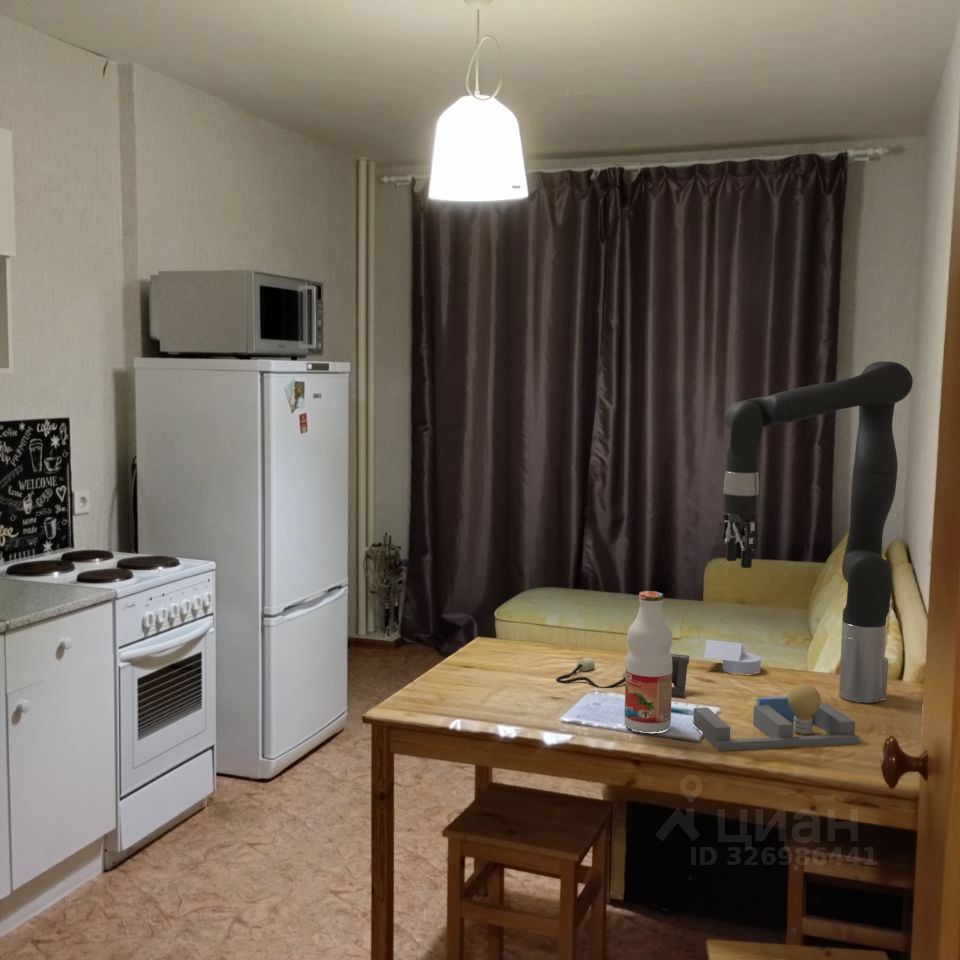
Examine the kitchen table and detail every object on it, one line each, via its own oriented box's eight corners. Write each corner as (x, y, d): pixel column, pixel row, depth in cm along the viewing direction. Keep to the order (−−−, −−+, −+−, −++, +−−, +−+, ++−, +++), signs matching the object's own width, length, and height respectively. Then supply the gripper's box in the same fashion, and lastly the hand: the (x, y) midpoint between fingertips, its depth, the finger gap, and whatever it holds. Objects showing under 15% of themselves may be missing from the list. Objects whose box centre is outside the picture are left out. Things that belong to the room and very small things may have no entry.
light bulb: (820, 739, 209) (823, 690, 208) (787, 736, 211) (789, 688, 210) (817, 728, 216) (819, 681, 215) (784, 726, 217) (787, 679, 216)
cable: (607, 696, 237) (608, 681, 237) (549, 682, 247) (549, 668, 247) (643, 680, 249) (643, 666, 249) (586, 668, 259) (586, 654, 259)
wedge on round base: (703, 671, 256) (757, 677, 251) (703, 644, 255) (758, 650, 251) (709, 661, 264) (762, 667, 260) (710, 635, 264) (763, 641, 259)
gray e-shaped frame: (821, 718, 222) (822, 695, 222) (857, 743, 207) (859, 719, 207) (690, 723, 218) (690, 700, 217) (717, 750, 203) (718, 725, 202)
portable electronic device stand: (644, 694, 238) (645, 658, 237) (650, 684, 245) (651, 649, 244) (683, 698, 235) (684, 662, 234) (688, 688, 242) (690, 653, 241)
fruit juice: (678, 733, 212) (682, 597, 209) (634, 736, 210) (638, 599, 207) (659, 718, 221) (663, 587, 218) (617, 721, 219) (620, 589, 216)
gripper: (770, 495, 226) (767, 570, 227) (744, 488, 240) (741, 558, 241) (737, 496, 225) (734, 570, 226) (712, 488, 239) (710, 558, 240)
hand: (738, 564), depth 234 cm, fingers open, 8 cm apart
